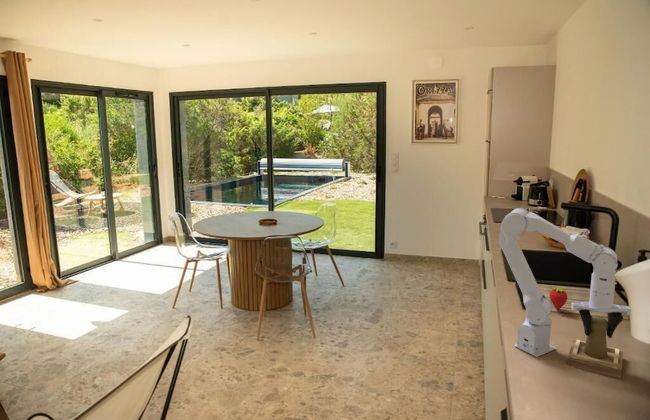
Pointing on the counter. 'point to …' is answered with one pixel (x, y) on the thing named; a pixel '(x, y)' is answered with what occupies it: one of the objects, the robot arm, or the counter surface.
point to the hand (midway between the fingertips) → (597, 335)
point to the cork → (597, 339)
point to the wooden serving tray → (596, 360)
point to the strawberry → (558, 297)
